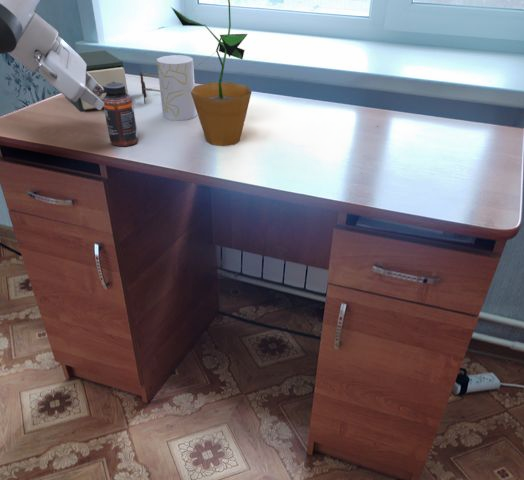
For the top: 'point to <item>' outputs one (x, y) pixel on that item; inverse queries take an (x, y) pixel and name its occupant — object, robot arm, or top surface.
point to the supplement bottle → (119, 115)
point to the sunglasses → (144, 85)
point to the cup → (176, 87)
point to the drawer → (105, 80)
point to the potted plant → (221, 94)
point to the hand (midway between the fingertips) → (102, 99)
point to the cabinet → (93, 62)
